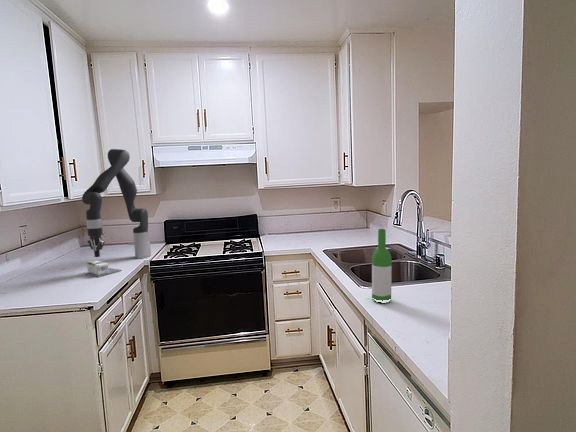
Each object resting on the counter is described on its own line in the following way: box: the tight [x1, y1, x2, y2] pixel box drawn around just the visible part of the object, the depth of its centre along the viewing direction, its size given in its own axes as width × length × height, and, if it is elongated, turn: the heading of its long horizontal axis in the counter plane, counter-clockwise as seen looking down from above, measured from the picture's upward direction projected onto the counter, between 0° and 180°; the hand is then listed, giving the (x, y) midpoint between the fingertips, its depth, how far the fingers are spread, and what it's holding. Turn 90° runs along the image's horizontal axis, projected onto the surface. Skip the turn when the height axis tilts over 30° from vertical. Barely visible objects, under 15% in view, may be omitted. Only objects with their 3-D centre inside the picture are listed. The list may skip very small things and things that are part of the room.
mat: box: [84, 267, 122, 278], centre depth 198 cm, size 14×12×1 cm
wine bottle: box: [371, 228, 393, 301], centre depth 141 cm, size 8×8×30 cm
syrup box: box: [86, 260, 109, 275], centre depth 197 cm, size 6×6×14 cm
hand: (97, 256), depth 199 cm, fingers closed
